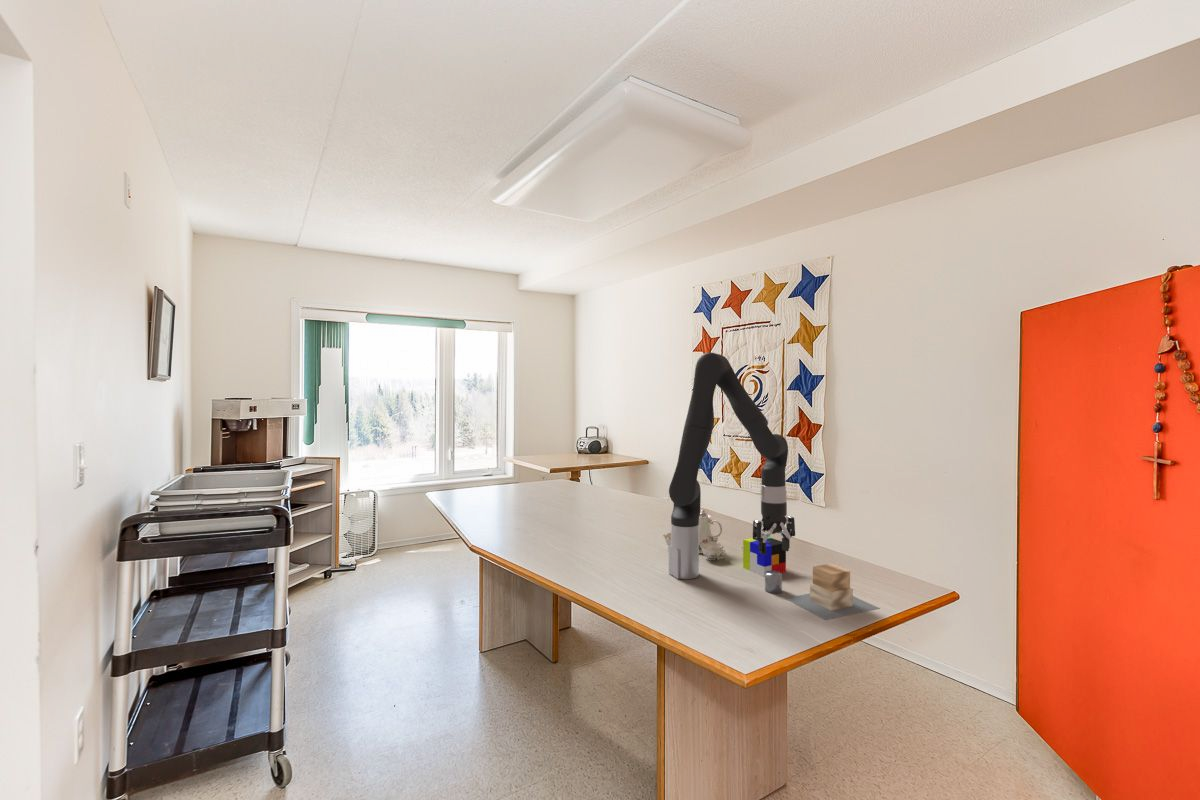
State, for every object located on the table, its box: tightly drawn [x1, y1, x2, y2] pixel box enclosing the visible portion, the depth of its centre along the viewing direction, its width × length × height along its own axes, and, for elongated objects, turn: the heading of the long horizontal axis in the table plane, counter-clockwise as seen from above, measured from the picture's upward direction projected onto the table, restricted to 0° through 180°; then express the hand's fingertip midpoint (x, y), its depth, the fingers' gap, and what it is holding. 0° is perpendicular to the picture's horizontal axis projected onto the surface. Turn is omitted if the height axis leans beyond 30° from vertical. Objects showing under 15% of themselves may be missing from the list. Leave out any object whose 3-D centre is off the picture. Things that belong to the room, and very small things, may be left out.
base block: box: [809, 582, 854, 611], centre depth 155 cm, size 8×8×5 cm
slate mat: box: [784, 593, 881, 621], centre depth 155 cm, size 20×16×1 cm
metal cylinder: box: [764, 571, 783, 595], centre depth 164 cm, size 5×5×6 cm
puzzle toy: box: [742, 536, 787, 577], centre depth 185 cm, size 10×10×10 cm
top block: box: [812, 563, 851, 592], centre depth 155 cm, size 7×7×5 cm
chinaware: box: [662, 508, 727, 561], centre depth 205 cm, size 28×17×17 cm, turn 48°
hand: (774, 552), depth 164 cm, fingers open, 8 cm apart
